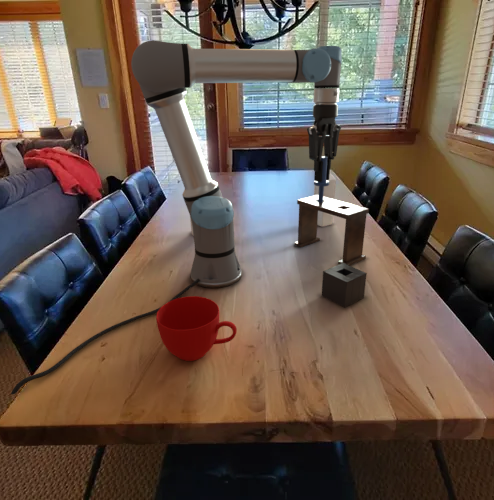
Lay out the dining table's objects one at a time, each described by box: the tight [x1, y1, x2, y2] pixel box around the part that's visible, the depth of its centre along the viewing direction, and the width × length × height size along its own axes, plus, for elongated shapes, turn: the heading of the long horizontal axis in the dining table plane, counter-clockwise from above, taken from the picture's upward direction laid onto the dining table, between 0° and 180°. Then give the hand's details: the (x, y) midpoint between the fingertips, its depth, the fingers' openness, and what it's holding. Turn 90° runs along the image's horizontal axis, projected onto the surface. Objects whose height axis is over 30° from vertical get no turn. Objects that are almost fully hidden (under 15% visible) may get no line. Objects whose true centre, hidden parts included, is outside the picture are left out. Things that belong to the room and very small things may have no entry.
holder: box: [321, 263, 368, 308], centre depth 100 cm, size 8×8×8 cm
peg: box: [313, 155, 329, 203], centre depth 123 cm, size 5×5×16 cm
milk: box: [313, 169, 337, 228], centre depth 151 cm, size 6×6×22 cm
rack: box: [293, 195, 370, 266], centre depth 126 cm, size 10×24×17 cm, turn 38°
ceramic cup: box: [155, 295, 238, 362], centre depth 79 cm, size 13×17×10 cm
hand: (321, 180), depth 123 cm, fingers closed on peg, 3 cm apart
